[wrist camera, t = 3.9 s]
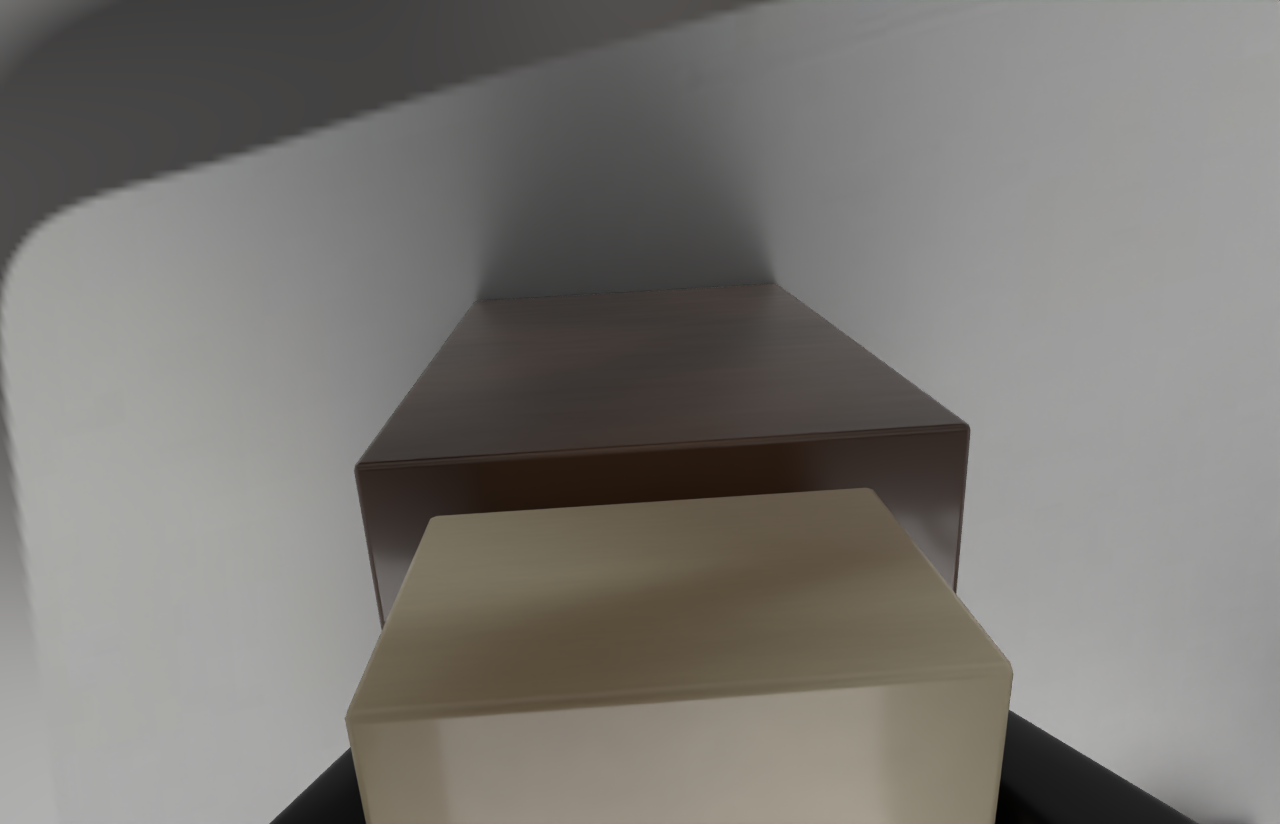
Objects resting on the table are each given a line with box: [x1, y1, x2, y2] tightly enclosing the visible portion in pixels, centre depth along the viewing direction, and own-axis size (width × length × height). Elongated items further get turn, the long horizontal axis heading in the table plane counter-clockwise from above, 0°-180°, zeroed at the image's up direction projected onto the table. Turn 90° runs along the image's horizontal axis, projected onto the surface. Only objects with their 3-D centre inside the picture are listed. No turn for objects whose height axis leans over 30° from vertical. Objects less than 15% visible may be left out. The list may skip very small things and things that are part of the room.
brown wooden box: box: [354, 284, 970, 630], centre depth 15 cm, size 7×16×13 cm, turn 3°
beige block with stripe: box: [345, 488, 1013, 824], centre depth 7 cm, size 4×4×3 cm
